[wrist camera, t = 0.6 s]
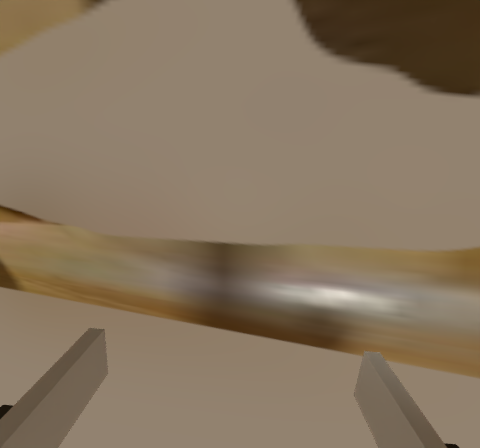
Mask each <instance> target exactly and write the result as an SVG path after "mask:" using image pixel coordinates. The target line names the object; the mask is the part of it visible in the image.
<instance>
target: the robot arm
mask: <svg viewBox="0 0 480 448" xmlns="http://www.w3.org/2000/svg"><path fill="white" fill-rule="evenodd" d="M107 374H108V366H107V354H106V342H105V331H104V329H94V328H89V329H88V331H86V332H85V333H84V334H83V335H82V336H81V337H80V338H79V339H78V340H77V341H76V342H75V344H74V345H73V346H72V347H71V348H70V349H69V350H68V351H67V352H66V353H65V354H64V355H63V356H62V357H61V358H60V359H59V360H58V361H57V362H56V363H55V364H54V365H53V366H52V367H51V368H50V369H49V370H48V371H47V372H46V373H45V374H44V375H43V376H42V377H41V378H40V380H38V381H37V382H36V384H34V386H33V387H32V388H31V389H30V390H29V391H28V392H27V393H26V394H25V395H24V396H23V397H22V398H21V399H20V400H19V401H18V402H17V403H16V404H15V405H14V406H10V405H2V406H1V407H0V448H58V447H59V445H60V444H61V443H62V441H63V439H64V438H65V437H66V435H67V434H68V432H69V431H70V429H71V428H72V426H73V425H74V423H75V422H76V420H77V419H78V417H79V416H80V414H81V413H82V411H83V410H84V408H85V407H86V405H87V404H88V402H89V401H90V400H91V398H92V397H93V395H94V394H95V392H96V391H97V389H98V388H99V386H100V385H101V383H102V382H103V380H104V379H105V377H106V376H107ZM354 396H355V398H356V400H357V403H358V405H359V407H360V409H361V411H362V413H363V416H364V418H365V420H366V422H367V424H368V427H369V429H370V431H371V433H372V435H373V437H374V439H375V441H376V444H377V446H378V448H459V447H458V446H457V445H456V444H444V443H443V441H442V440H441V438H440V437H439V436H438V434H437V433H436V431H435V430H434V429H433V427H432V426H431V424H430V423H429V421H428V420H427V419H426V417H425V416H424V415H423V413H422V412H421V410H420V409H419V407H418V406H417V404H416V403H415V402H414V400H413V399H412V397H411V396H410V395H409V393H408V392H407V391H406V389H405V388H404V386H403V385H402V383H401V382H400V381H399V379H398V378H397V376H396V375H395V373H394V372H393V371H392V369H391V368H390V366H389V365H388V364H387V362H386V361H385V359H384V358H383V356H382V355H381V354H380V353H378V352H366V351H364V355H363V359H362V363H361V367H360V371H359V375H358V379H357V384H356V388H355V392H354Z"/></svg>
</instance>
